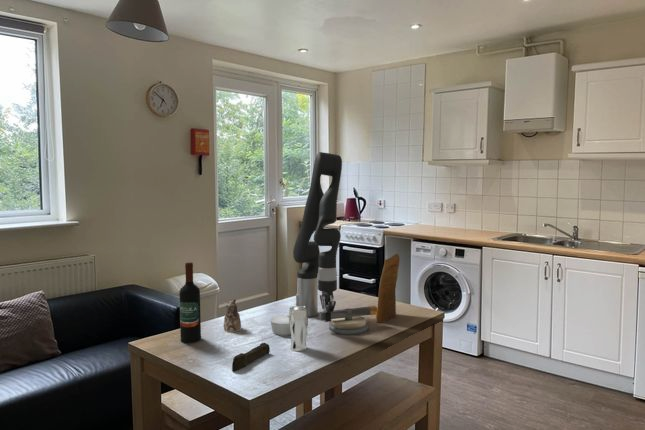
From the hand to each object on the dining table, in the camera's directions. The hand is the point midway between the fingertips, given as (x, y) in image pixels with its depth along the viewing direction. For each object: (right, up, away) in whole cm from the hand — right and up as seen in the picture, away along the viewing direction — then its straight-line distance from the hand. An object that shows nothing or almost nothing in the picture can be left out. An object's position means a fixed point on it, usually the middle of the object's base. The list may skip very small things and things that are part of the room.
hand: (327, 321), depth 193 cm
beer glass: (-11, -7, -15) cm, 20 cm away
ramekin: (-18, -5, +3) cm, 19 cm away
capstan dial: (+9, -3, +7) cm, 12 cm away
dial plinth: (+9, -5, +7) cm, 12 cm away
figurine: (-39, -5, +6) cm, 40 cm away
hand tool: (-26, -8, -28) cm, 39 cm away
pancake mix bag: (+27, -4, +21) cm, 34 cm away
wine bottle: (-53, -6, -7) cm, 54 cm away
